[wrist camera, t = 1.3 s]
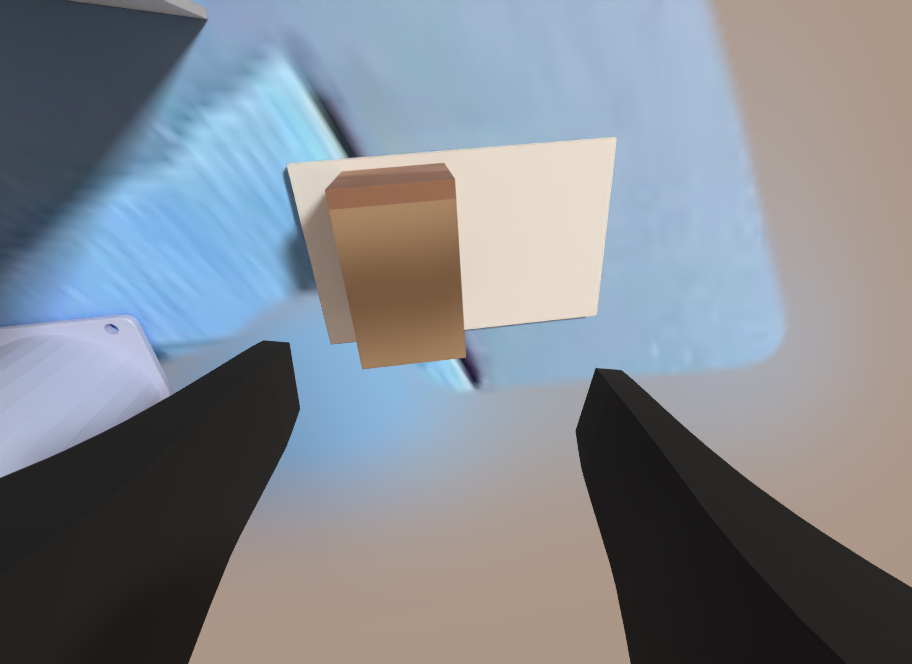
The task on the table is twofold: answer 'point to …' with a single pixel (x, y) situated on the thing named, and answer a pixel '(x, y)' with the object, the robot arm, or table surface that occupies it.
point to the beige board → (490, 228)
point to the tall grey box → (157, 6)
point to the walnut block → (400, 262)
